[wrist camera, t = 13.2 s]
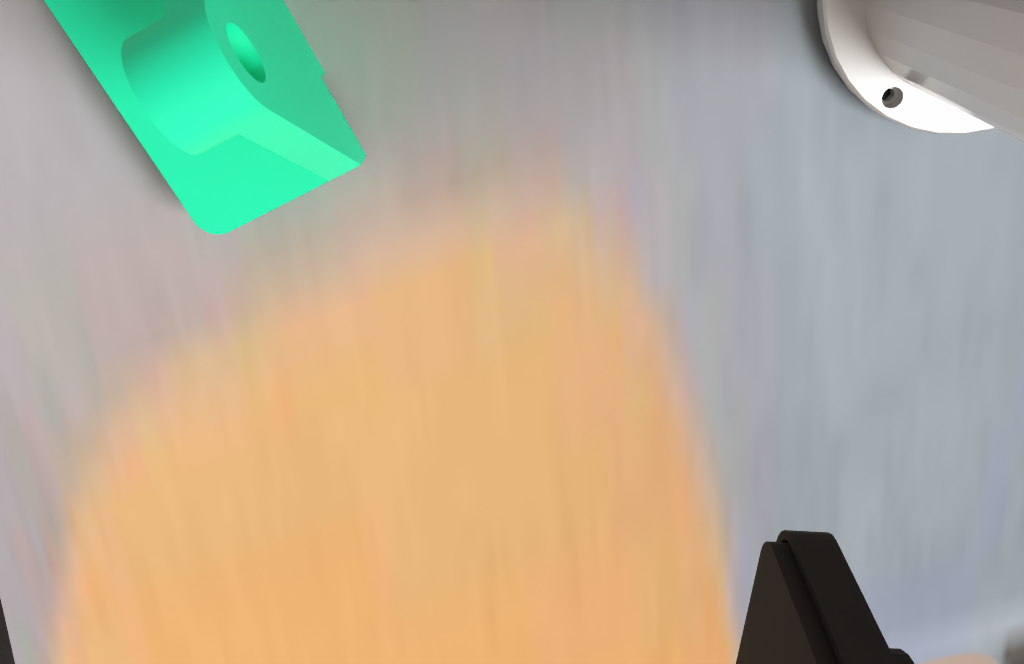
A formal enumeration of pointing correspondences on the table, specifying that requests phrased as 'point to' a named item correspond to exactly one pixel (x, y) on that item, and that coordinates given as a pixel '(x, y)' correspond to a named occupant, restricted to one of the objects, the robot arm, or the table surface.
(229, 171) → the camera mount
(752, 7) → the table surface
